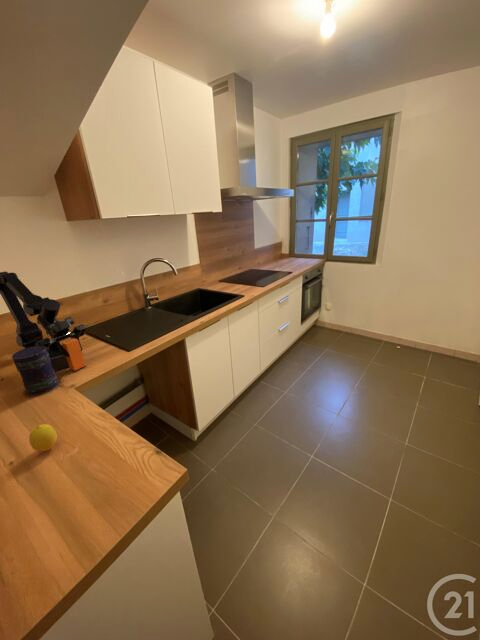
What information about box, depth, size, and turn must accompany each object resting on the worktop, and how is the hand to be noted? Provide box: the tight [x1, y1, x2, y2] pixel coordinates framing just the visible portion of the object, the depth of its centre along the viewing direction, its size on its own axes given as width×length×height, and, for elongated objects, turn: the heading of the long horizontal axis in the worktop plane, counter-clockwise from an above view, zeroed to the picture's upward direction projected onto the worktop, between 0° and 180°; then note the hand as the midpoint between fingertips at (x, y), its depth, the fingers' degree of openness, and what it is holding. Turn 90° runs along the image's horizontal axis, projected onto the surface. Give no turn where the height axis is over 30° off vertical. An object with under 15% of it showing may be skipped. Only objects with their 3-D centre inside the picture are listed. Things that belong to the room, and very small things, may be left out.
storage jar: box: [11, 346, 59, 396], centre depth 94 cm, size 10×10×15 cm
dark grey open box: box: [47, 344, 70, 372], centre depth 113 cm, size 14×13×6 cm
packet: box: [61, 338, 87, 372], centre depth 106 cm, size 3×5×12 cm
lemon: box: [28, 423, 58, 452], centre depth 68 cm, size 6×6×8 cm
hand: (75, 353), depth 105 cm, fingers closed on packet, 5 cm apart
